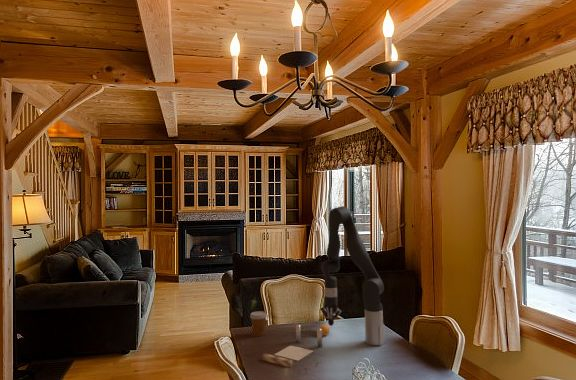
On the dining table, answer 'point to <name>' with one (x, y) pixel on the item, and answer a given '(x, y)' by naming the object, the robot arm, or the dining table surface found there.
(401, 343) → the dining table surface
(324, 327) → the ball
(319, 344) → the near post
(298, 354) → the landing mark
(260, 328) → the disposable coffee cup
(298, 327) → the far post
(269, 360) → the stopper wall
